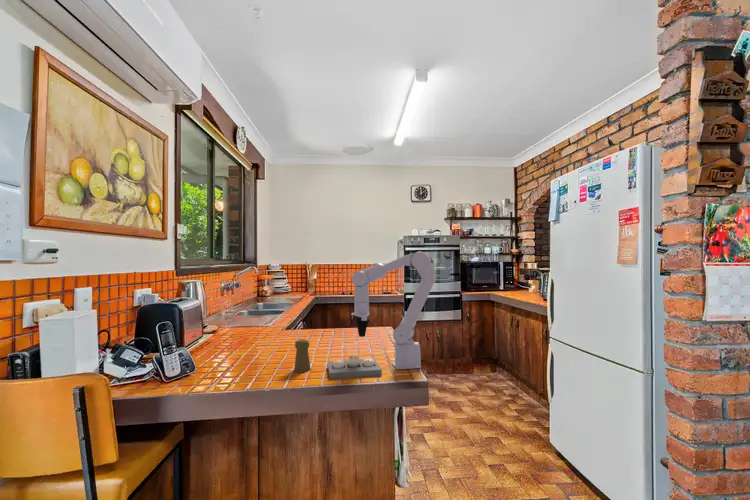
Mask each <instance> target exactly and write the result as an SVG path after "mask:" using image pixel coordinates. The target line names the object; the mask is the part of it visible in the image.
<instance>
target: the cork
mask: <svg viewBox="0 0 750 500" xmlns="http://www.w3.org/2000/svg"><path fill="white" fill-rule="evenodd" d="M294 347H295V349H296V350H295V351H296V352H295V357H294V358H295V360H294V367H293V368H294V369H293V371H294V372H296V373H306V372H309V371H311V370H312V369H311V361H310V355H309V347H310V341H309V340H308V339H302V338H301V339H298V340H296V341H295V343H294Z"/></svg>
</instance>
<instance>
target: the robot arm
mask: <svg viewBox="0 0 750 500" xmlns="http://www.w3.org/2000/svg"><path fill="white" fill-rule="evenodd" d="M405 266H406V267H414V269H415V270H416V271H417V272H418V274H419V276H420V282H419V284H418V286H417V289H416V290H415V293H414V295H413V297H412V298H411V301H410V303H409V306H408V308H407V311H406V312H405V315H404V317H403V318H402V320H401V321H400V323H399V325H398V326H397V327H396V328H394V330H393V333H392V337H393V340H394V362H393V361H392V363H391V364H392V365H393V367H394V369H396V370H409V369H421V368H422V365H421V364H422V363H421V362H422V361H421V360H422V359H421V357H422V356H421V345H420V342H418V341H414V338H413V337H414V335H415V326H416V324H417V321H418V319H419V316H420V314H421V312H422V309H423V307H424V305H425V303H426V301H427V300H428V297H429V295H430V292H431V290H432V288H433V286H434V284H435V282H436V277H437V276H436V270H435V260H434V259H433V258H432V256H431V254H430V253H428V252H426V251H416V252H414V253H409V254H406V255H403V256H401V257H397V258H396V259H393V260H391V261H390V262H388V263H385V264H383V263H380V262H379V263H378V262H375V263H373V265H372V266H369V267H367V268H366V267H364V268H362V270H357V271H355V272H354V273H353V274H352V276H351V280H352V283H353V286H354V287H353V288H354V289H353V297H354V298H353V300H354V303H353V304H354V309H353V311H354V312H352V313H351V316H354V317H355V316H356V317H355V318H354V322H355V323H356V327H357V333H358V337H360V338H362V337H366V332H367V329H368V324H369V322H370V318H369V317H368V316H370V294H369V292H370V291H369V284H370V283H373V282H376V281H377V280H378V281H379V280H380V279H383V278H386V276H387V274H388V272H392V271H394V270H396V269H400V268H403V267H405ZM417 366H418V367H417Z"/></svg>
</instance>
